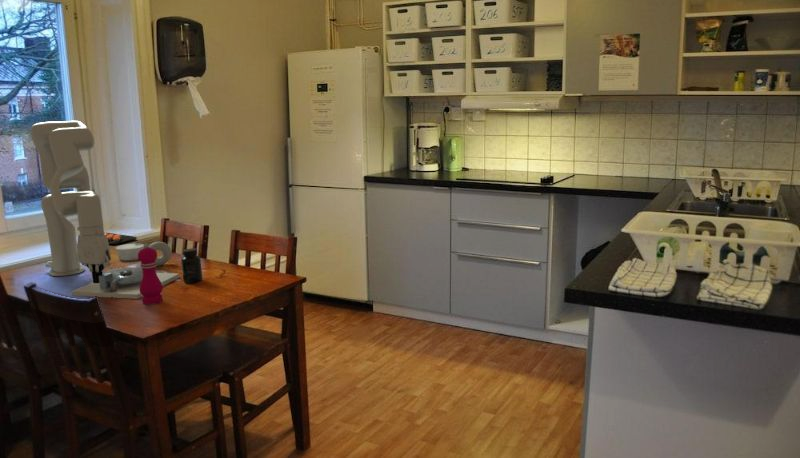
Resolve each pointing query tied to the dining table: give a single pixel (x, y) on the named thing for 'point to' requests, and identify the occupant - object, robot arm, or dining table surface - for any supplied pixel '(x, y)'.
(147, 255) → the pepper mill
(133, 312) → the dining table surface
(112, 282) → the steel dowel
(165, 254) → the donut
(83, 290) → the base board
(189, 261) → the supplement bottle
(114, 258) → the dining table surface
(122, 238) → the sushi plate
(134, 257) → the ramekin
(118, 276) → the flange plate
